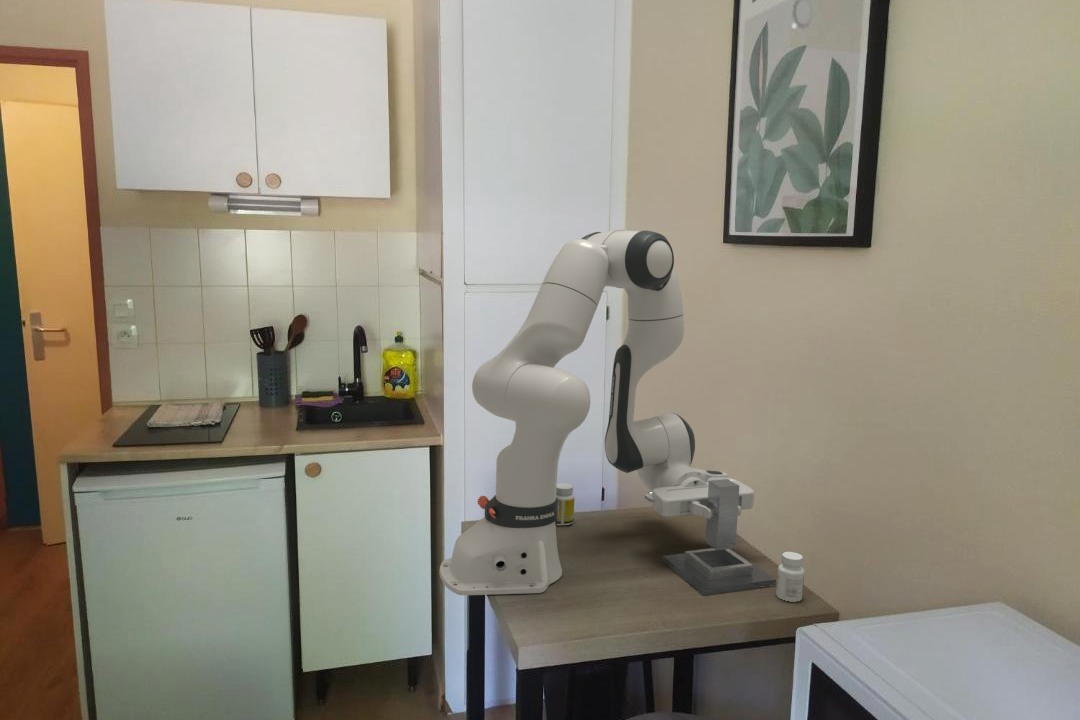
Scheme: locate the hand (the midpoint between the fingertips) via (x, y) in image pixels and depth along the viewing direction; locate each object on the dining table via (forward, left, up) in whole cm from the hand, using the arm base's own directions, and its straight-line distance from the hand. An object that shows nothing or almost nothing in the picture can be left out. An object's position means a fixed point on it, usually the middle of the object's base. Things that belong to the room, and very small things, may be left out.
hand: (724, 513), depth 140 cm
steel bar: (0, +1, -6) cm, 7 cm away
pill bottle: (+7, -11, -12) cm, 18 cm away
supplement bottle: (-19, +33, -12) cm, 40 cm away
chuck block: (0, +1, -12) cm, 12 cm away
